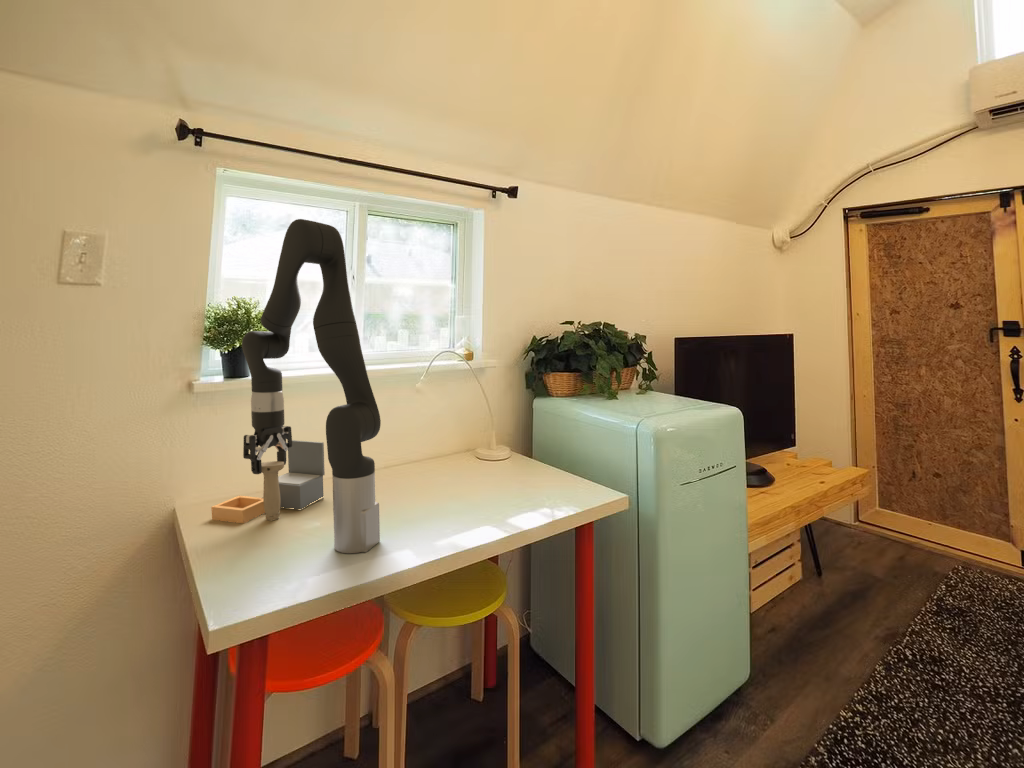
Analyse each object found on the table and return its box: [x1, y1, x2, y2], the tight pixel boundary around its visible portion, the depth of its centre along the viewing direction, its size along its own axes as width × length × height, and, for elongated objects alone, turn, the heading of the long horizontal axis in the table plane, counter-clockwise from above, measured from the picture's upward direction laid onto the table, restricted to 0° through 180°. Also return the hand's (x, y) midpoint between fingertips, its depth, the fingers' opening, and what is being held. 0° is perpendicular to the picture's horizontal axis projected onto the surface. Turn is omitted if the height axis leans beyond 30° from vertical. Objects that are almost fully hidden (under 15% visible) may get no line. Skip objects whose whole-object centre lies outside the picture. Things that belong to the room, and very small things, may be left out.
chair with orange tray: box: [210, 439, 325, 524], centre depth 126 cm, size 18×22×17 cm
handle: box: [261, 460, 285, 522], centre depth 119 cm, size 5×6×15 cm
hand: (269, 469), depth 118 cm, fingers open, 8 cm apart
